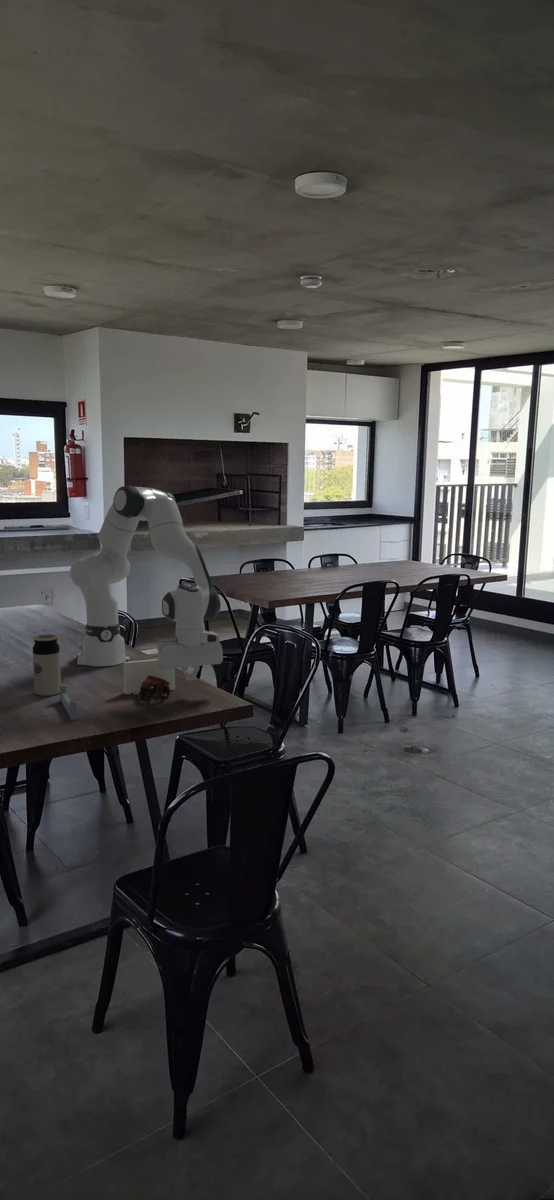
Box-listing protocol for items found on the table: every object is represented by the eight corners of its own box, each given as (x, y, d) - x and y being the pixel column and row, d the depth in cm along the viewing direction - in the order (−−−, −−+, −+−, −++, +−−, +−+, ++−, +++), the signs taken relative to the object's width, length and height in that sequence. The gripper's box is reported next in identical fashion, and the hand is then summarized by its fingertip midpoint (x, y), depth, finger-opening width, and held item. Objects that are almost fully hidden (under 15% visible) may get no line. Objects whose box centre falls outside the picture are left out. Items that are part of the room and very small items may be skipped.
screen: (123, 692, 253) (122, 661, 252) (172, 686, 260) (172, 656, 258) (126, 695, 250) (125, 664, 248) (176, 689, 256) (175, 659, 254)
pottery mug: (131, 699, 248) (140, 674, 250) (158, 709, 251) (167, 684, 254) (144, 699, 237) (153, 673, 239) (172, 709, 241) (181, 683, 243)
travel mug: (54, 687, 257) (52, 632, 254) (65, 693, 251) (63, 637, 248) (30, 692, 252) (27, 636, 249) (41, 698, 246) (38, 640, 243)
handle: (60, 700, 244) (59, 684, 243) (65, 700, 244) (64, 684, 243) (71, 720, 226) (70, 703, 225) (77, 719, 226) (76, 702, 225)
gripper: (160, 641, 240) (160, 686, 242) (224, 635, 248) (224, 679, 250) (154, 637, 245) (155, 680, 248) (217, 631, 253) (217, 674, 256)
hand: (190, 680), depth 249 cm, fingers closed
